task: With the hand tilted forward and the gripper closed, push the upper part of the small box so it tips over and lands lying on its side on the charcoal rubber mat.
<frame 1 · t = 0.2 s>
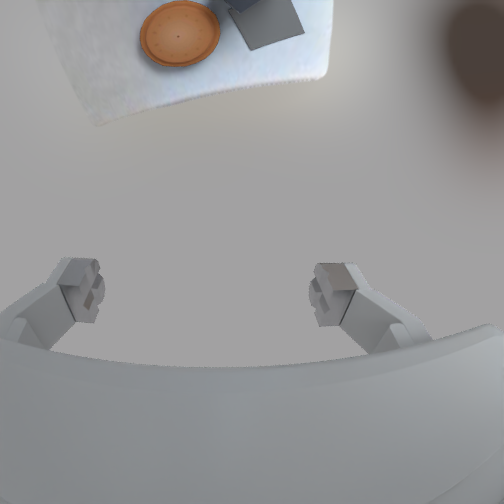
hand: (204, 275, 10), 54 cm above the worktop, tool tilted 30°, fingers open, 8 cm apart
rubber mat: (267, 20, 38), on the worktop
pie: (181, 30, 38), on the worktop
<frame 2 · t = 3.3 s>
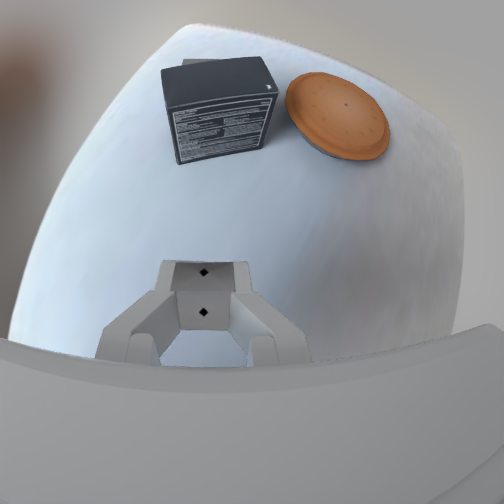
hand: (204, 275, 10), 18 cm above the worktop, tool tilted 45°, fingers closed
pie: (331, 126, 34), on the worktop
small box: (214, 136, 31), on the worktop
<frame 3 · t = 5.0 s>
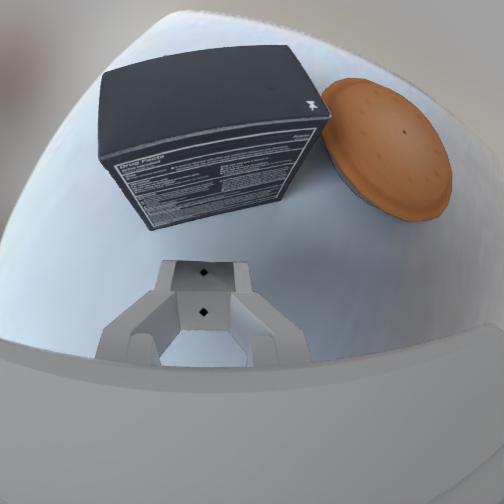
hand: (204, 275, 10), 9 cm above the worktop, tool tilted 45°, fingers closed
pie: (376, 158, 24), on the worktop
small box: (207, 179, 21), on the worktop
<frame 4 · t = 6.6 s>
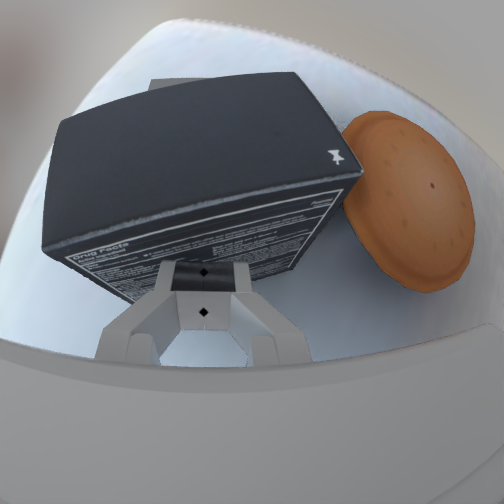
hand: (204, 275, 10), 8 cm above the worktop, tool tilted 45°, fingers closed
rubber mat: (211, 124, 20), on the worktop
pie: (395, 207, 21), on the worktop
small box: (204, 245, 18), on the worktop, touching gripper
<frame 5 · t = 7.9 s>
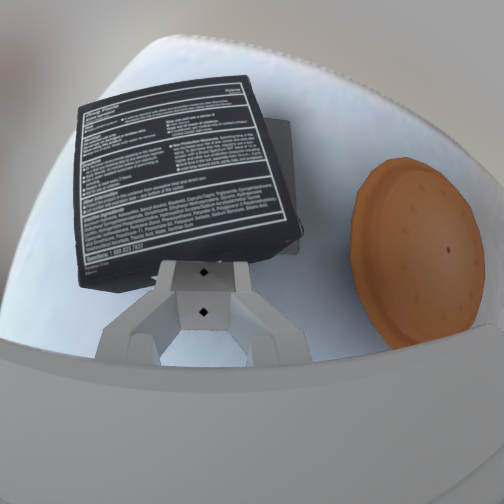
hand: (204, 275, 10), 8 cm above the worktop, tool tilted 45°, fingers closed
rubber mat: (211, 175, 19), on the worktop
pie: (406, 261, 20), on the worktop
small box: (193, 276, 14), point 3 cm above the worktop, touching rubber mat
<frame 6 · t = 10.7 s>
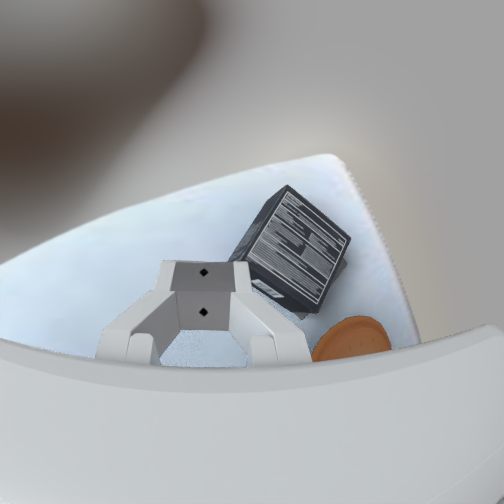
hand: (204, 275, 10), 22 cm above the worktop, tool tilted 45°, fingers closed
pie: (338, 367, 35), on the worktop
small box: (267, 292, 30), point 3 cm above the worktop, touching rubber mat
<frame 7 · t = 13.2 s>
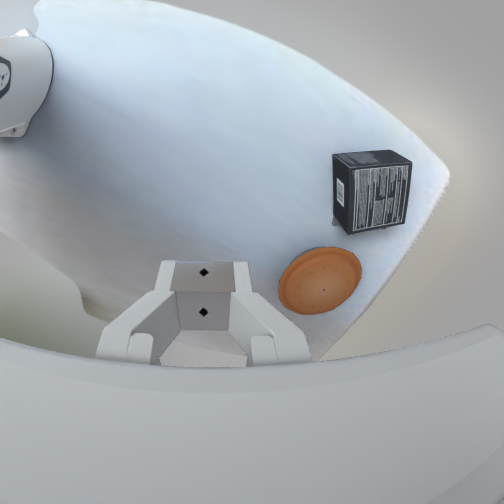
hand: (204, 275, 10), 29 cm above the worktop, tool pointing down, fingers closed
pie: (315, 271, 49), on the worktop
small box: (338, 193, 37), point 3 cm above the worktop, touching rubber mat
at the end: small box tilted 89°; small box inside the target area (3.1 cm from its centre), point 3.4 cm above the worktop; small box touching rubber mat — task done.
